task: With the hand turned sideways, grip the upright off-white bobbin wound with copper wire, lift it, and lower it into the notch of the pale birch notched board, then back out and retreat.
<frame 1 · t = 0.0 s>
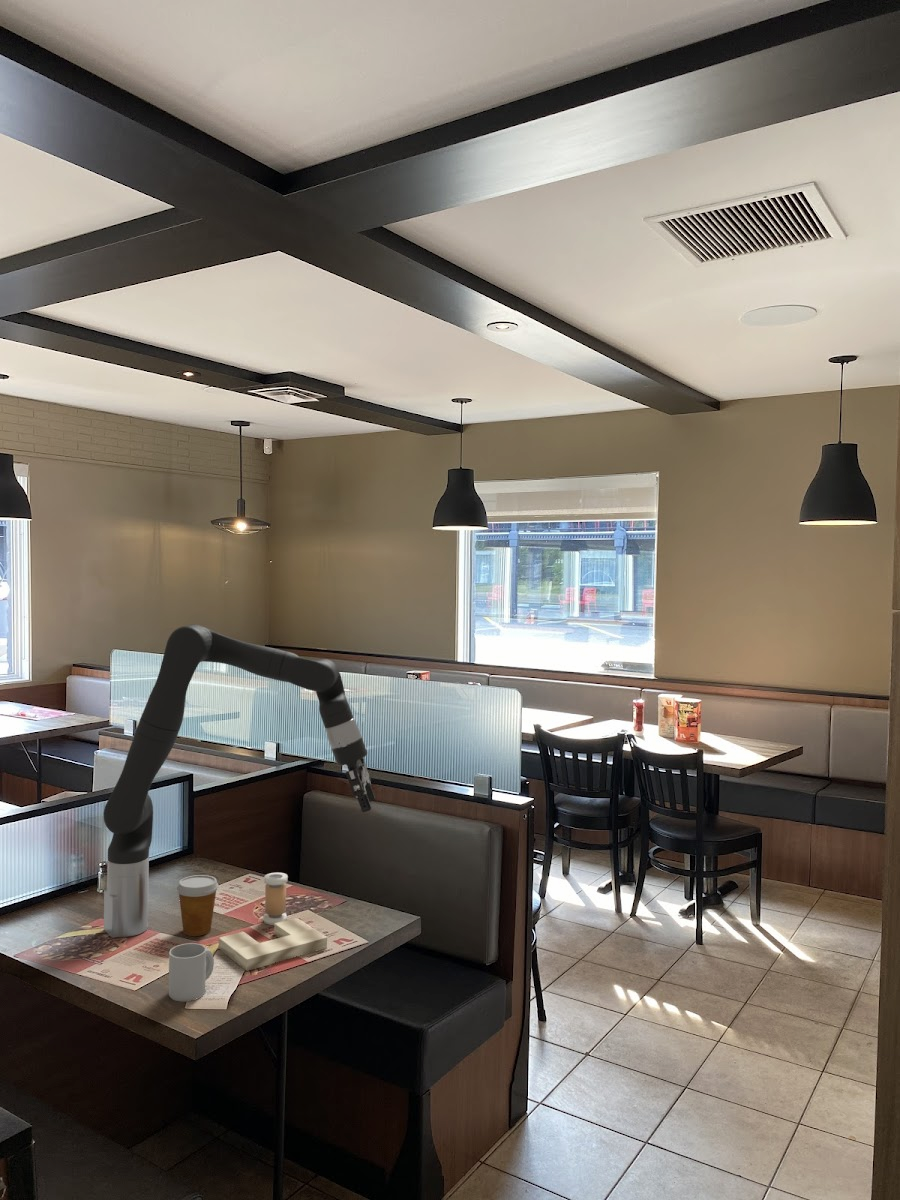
hand: (369, 805, 212), 31 cm above the table, tool tilted 20°, fingers open, 8 cm apart
notched board: (273, 948, 206), on the table
bobbin: (275, 920, 222), on the table
disposable coffee cup: (196, 931, 215), on the table
cup: (192, 992, 185), on the table
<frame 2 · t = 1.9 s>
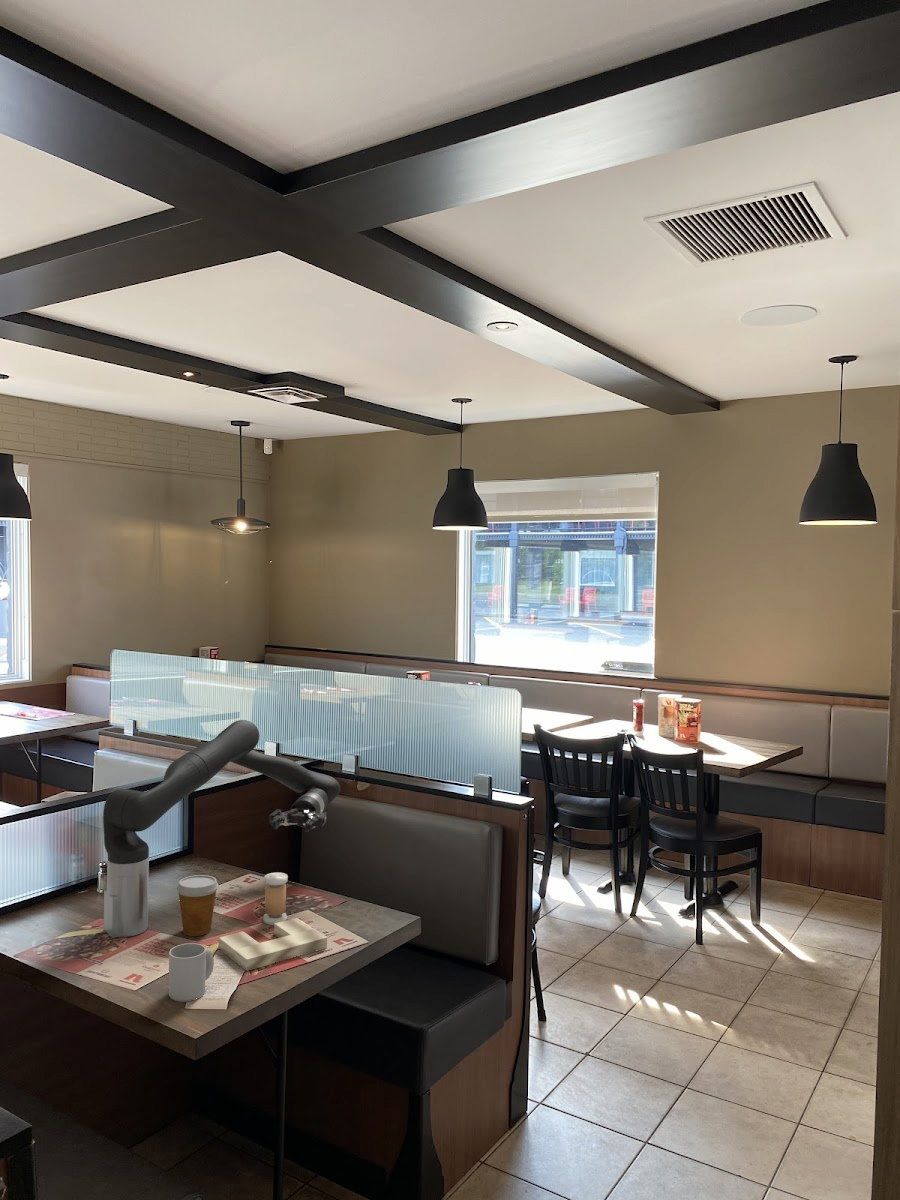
hand: (290, 826, 232), 20 cm above the table, tool horizontal, fingers open, 8 cm apart
nothing on the table moved.
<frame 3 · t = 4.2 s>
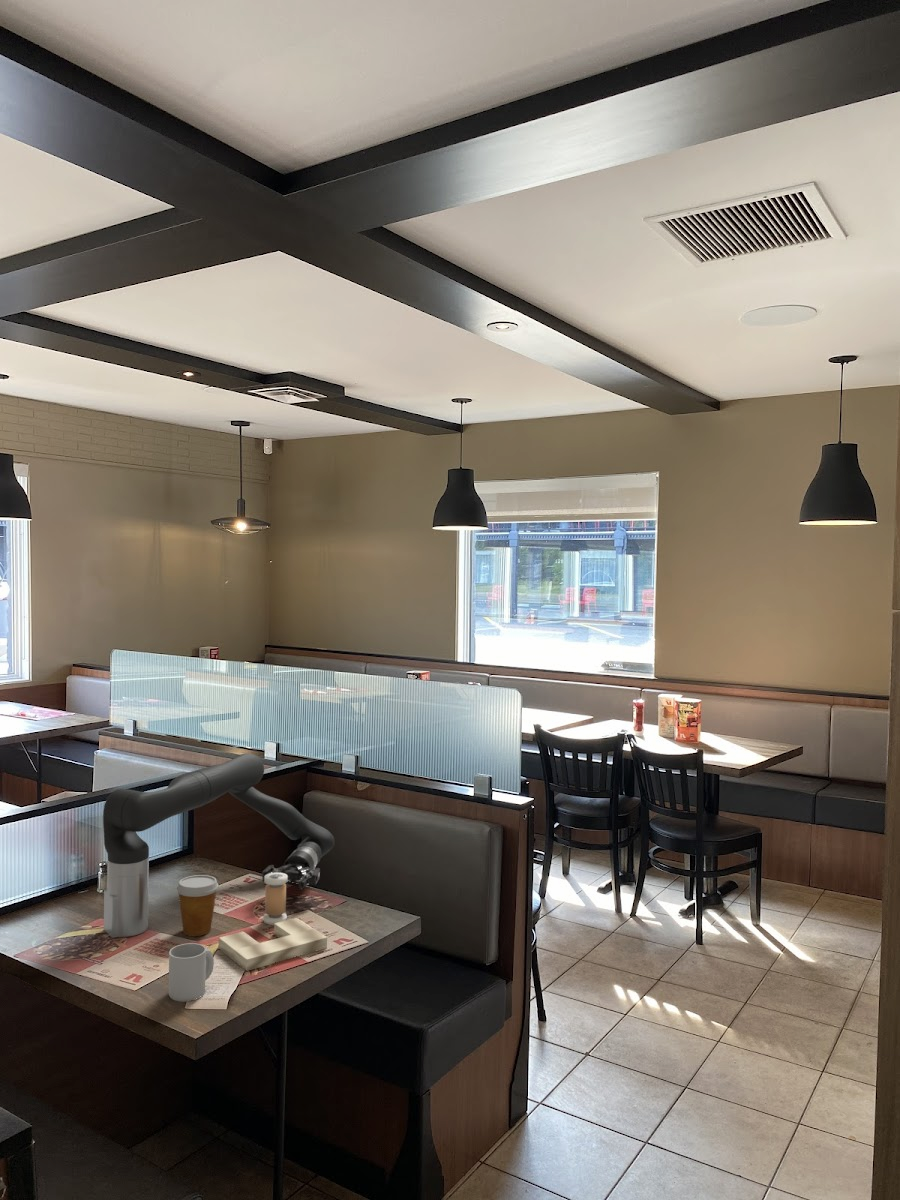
hand: (283, 884, 229), 7 cm above the table, tool horizontal, fingers open, 8 cm apart
nothing on the table moved.
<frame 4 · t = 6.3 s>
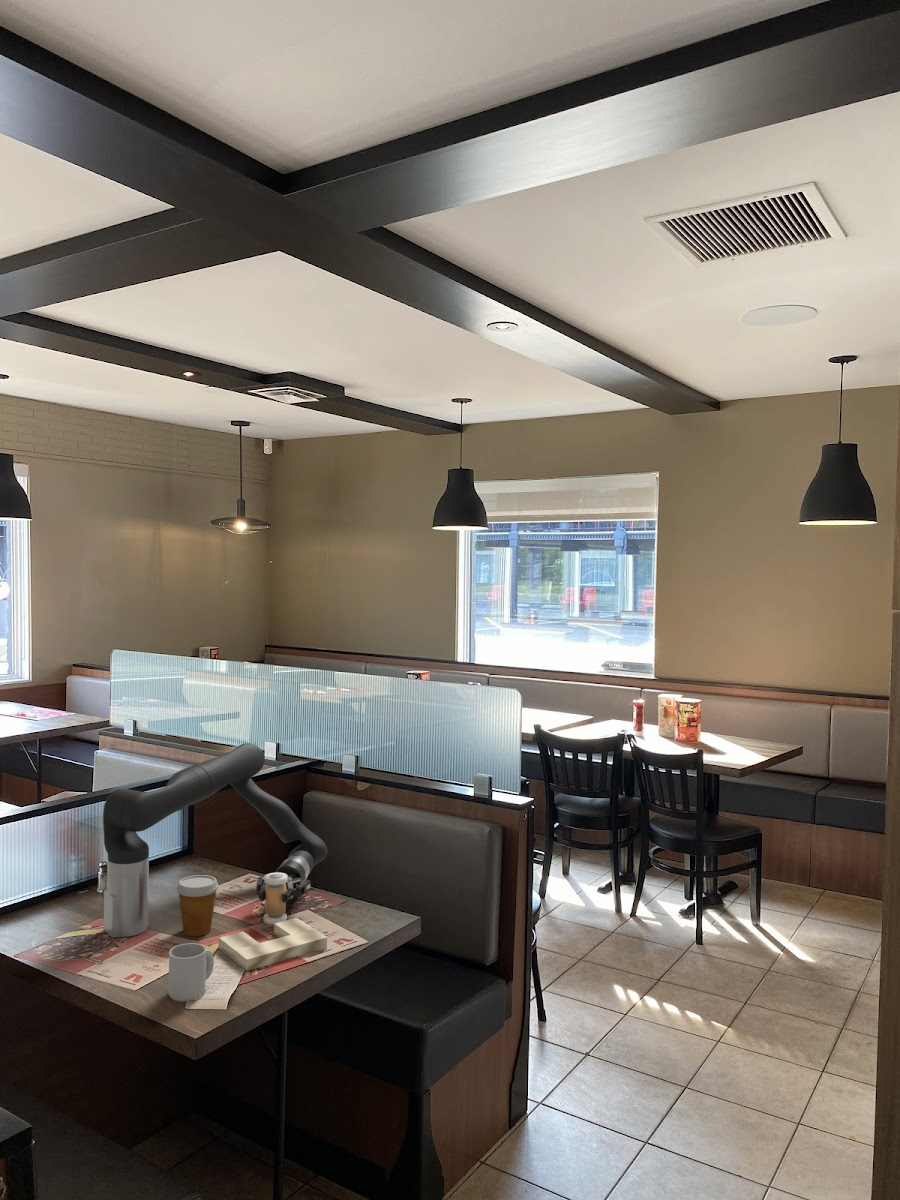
hand: (272, 897, 219), 7 cm above the table, tool horizontal, fingers closed on bobbin, 5 cm apart
bobbin: (275, 920, 222), on the table, touching gripper
everything else where it was.
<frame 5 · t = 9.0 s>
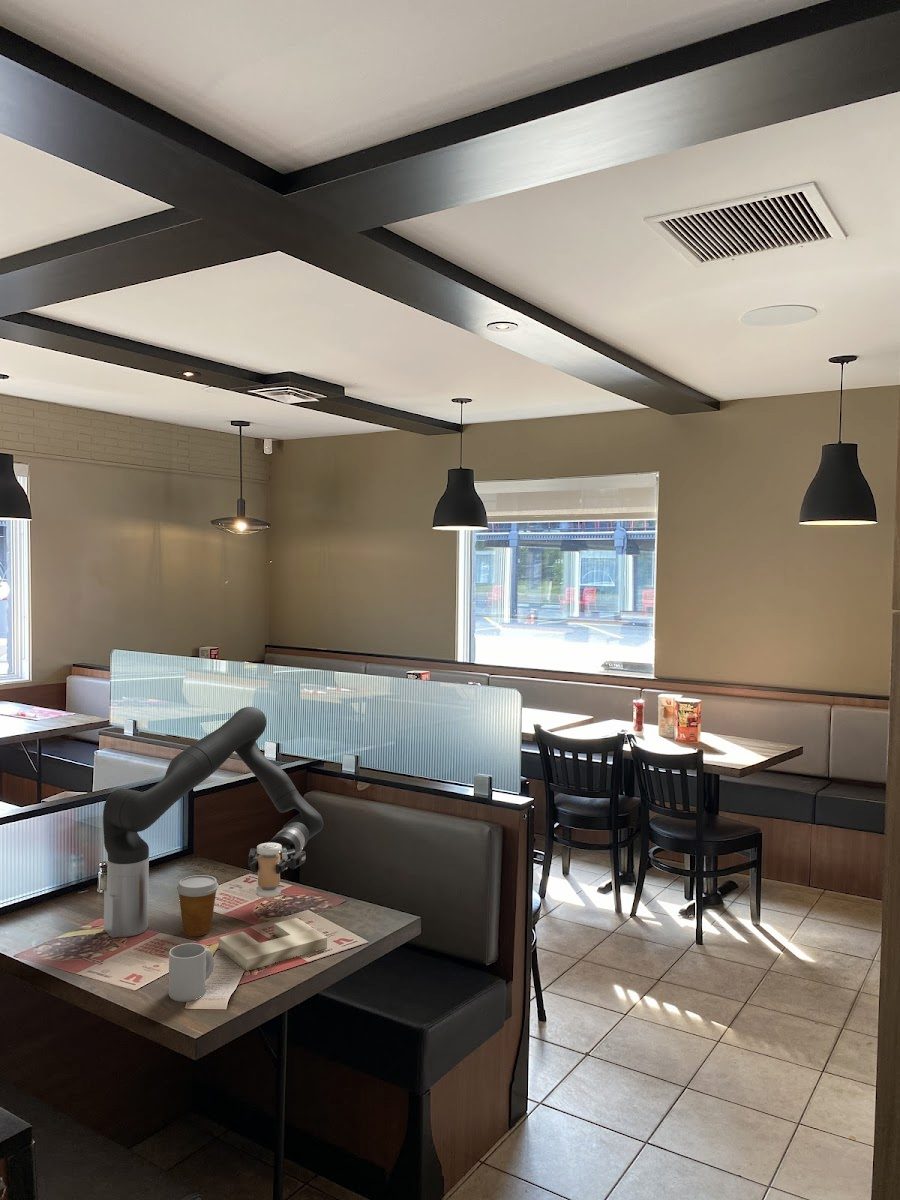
hand: (265, 868, 207), 18 cm above the table, tool horizontal, fingers closed on bobbin, 5 cm apart
bobbin: (268, 893, 210), point 11 cm above the table, touching gripper
everything else where it was.
when the fingers open (8 cm above the table, at t = 11.5 s): bobbin drops 1 cm, on the table.
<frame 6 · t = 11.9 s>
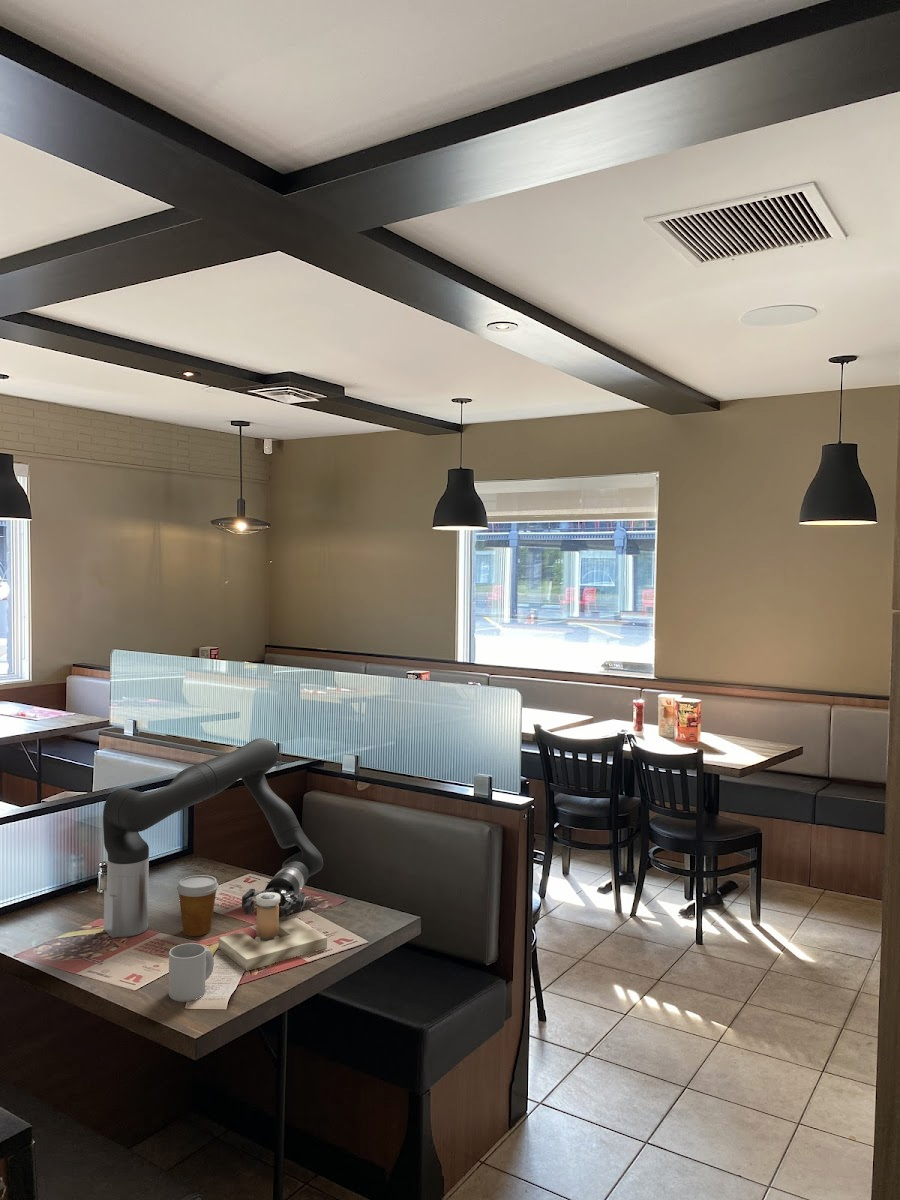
hand: (264, 911, 207), 8 cm above the table, tool horizontal, fingers open, 8 cm apart
bobbin: (267, 943, 209), on the table
everything else where it was.
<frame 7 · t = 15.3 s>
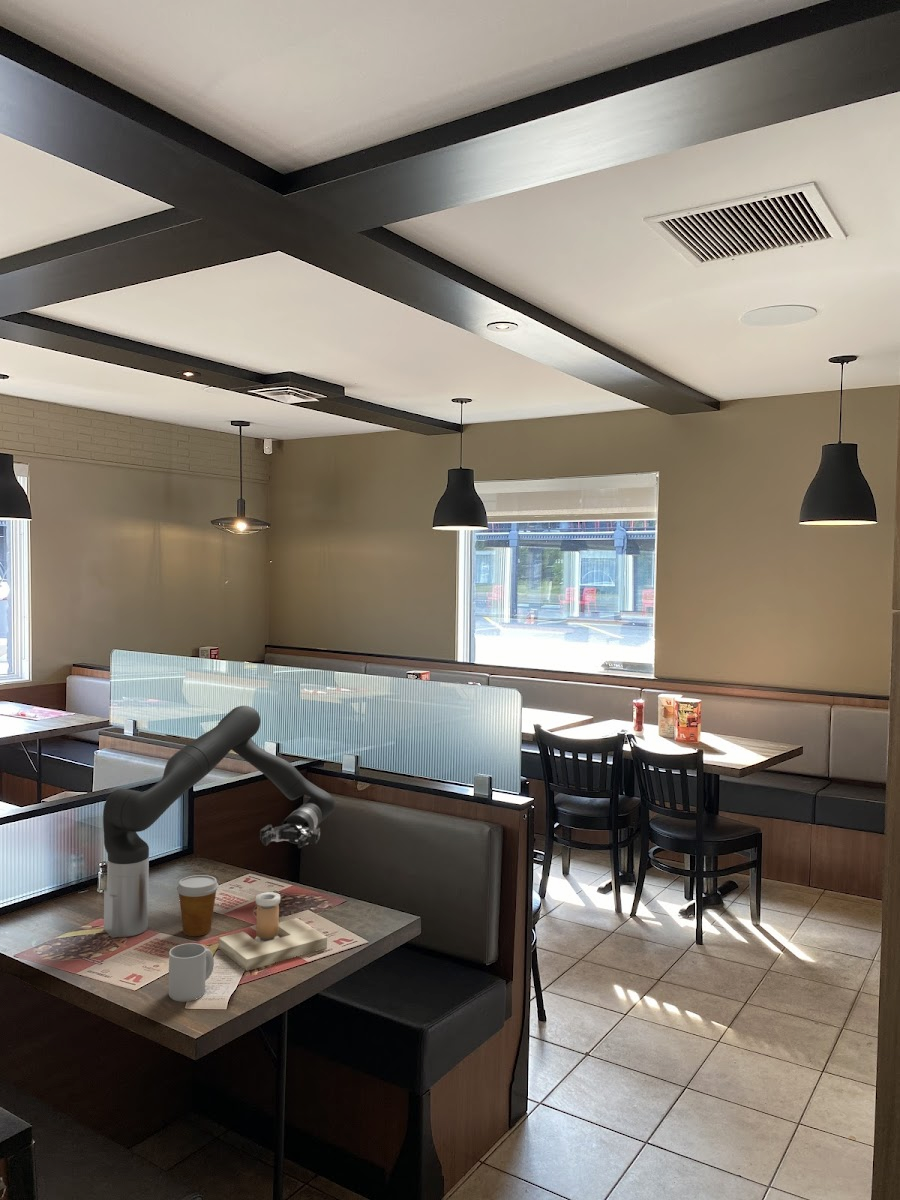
hand: (282, 842, 219), 20 cm above the table, tool horizontal, fingers open, 8 cm apart
nothing on the table moved.
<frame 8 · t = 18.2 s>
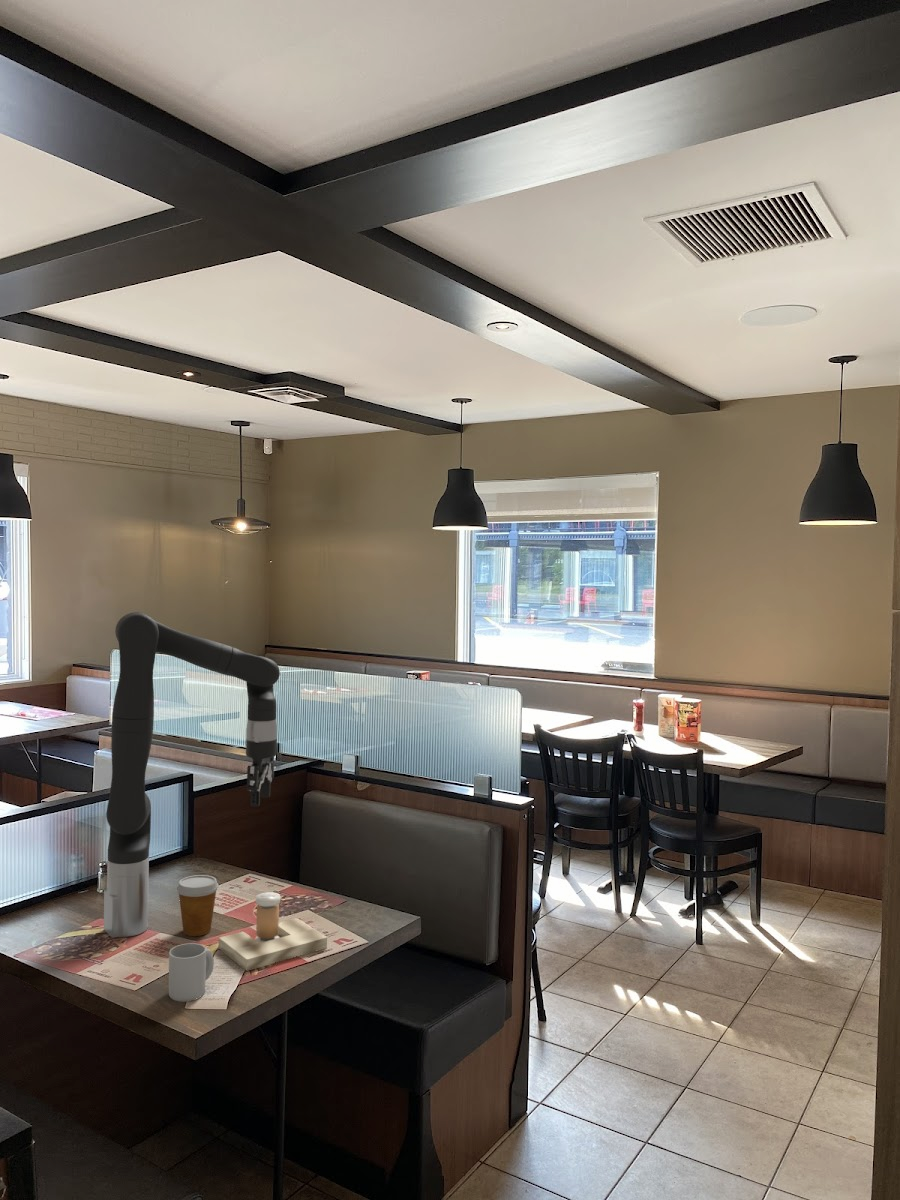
hand: (260, 801, 226), 28 cm above the table, tool pointing down, fingers open, 8 cm apart
nothing on the table moved.
at the end: bobbin 0.1 cm from the target spot on the notched board, point 0.0 cm above the notched board's base; bobbin tilted 0°; the gripper is holding nothing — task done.
